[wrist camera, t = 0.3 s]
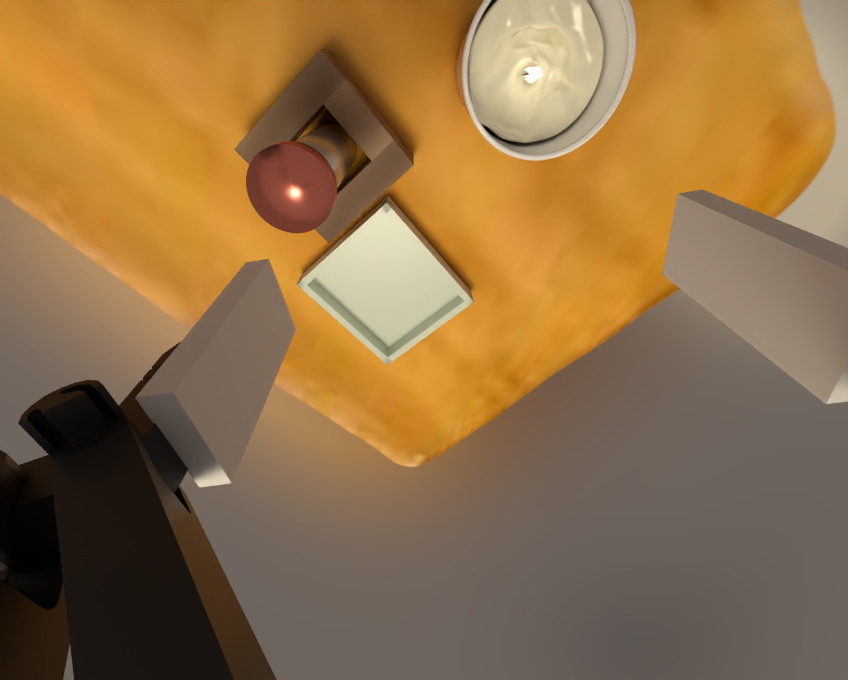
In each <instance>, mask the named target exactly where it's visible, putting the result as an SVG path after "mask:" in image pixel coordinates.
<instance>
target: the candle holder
mask: <svg viewBox="0 0 848 680" xmlns="http://www.w3.org/2000/svg"><path fill="white" fill-rule="evenodd" d="M635 51H636V27H635V19H634V14H633V10H632V7H631V3H630V1H629V0H483V2H482V3H481V5H480V7H479V9H478V10H477V12H476V14H475V16H474V19H473V21H472V23H471V25H470V27H469V29H468V31H467V33H466V34H465V36H464V39H463V41H462V43H461V46H460V49H459V52H458V56H457V62H456V84H457V89H458V93H459V96H460V98H461V101H462V103H463V105H464V107H465V108H466V110H467V112H468V113H469V115H470V117H471V119H472V121H473V123H474V124H475V126H476V128H477V129H478V131H479V132H480V133H481V135H482V136H483V137H484V138H485V139H486V140H487V141H488V142H489V143H490V144H491V145H492V146H494V147H495V148H496V149H498V150H499V151H501V152H503V153H505V154H507V155H509V156H512V157H515V158H519V159H524V160H546V159H551V158H555V157H559V156H561V155H564V154H566V153H569V152H571V151H573V150H574V149H576V148H578V147H580V146H581V145H583V144H584V143H585V142H587V141H588V140H589V139H590V138H592V137H593V136H594V135H595V134H596V133H597V132H598V131H599V130H600V129H601V128H602V127H603V126H604V125H605V123H606V122H607V121H608V120H609V118H610V117H611V115H612V114H613V113H614V111H615V109H616V108H617V106H618V104H619V103H620V101H621V99H622V97H623V95H624V93H625V90H626V88H627V85H628V82H629V79H630V76H631V73H632V69H633V64H634V59H635Z"/></svg>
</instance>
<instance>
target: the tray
mask: <svg viewBox="0 0 848 680" xmlns="http://www.w3.org/2000/svg"><path fill="white" fill-rule="evenodd" d="M297 285H298V286H299V287H300V288H301V289H302V290H304V291H305V292H306V293H307V294H308V295H309V296H310V297H311V298H313V299H314V300H315V301H316V302H317V303H318V304H319V305H320V306H322V307H323V308H324V309H325V310H326V311H327V312H328V313H329V314H331V315H332V316H333V317H334V318H335V319H336V320H337V321H338V322H340V323H341V324H342V325H343V326H344V327H345V328H346V329H347V330H349V331H350V332H351V333H352V334H353V335H354V336H355V337H356V338H358V339H359V340H360V341H361V342H362V343H363V344H364V345H365V346H367V347H368V348H369V349H370V350H371V351H372V352H373V353H375V354H376V355H377V356H378V357H379V358H380V359H381V360H382V361H384V362H385V363H386V364H387V365H388V364H389V363H391V362H392V361H393V360H395V359H396V358H397V357H399V356H400V355H402V354H403V353H404V352H406V351H407V350H408V349H410V348H411V347H413V346H414V345H415V344H417V343H418V342H419V341H421V340H422V339H424V338H425V337H426V336H428V335H429V334H430V333H432V332H433V331H435V330H436V329H437V328H439V327H440V326H441V325H443V324H444V323H446V322H447V321H448V320H450V319H451V318H452V317H454V316H455V315H457V314H458V313H459V312H461V311H462V310H463V309H465V308H466V307H468V306H469V305H470V304H472V303H473V302H474V300H473V297H472V294H471V290H470V289H469V288H468V287H467V286H466V285H465V284H464V282H463V281H462V280H461V279H460V278H459V277H458V276H457V274H456V273H455V272H454V271H453V270H452V269H451V267H450V266H449V265H448V264H447V263H446V262H445V261H444V259H443V258H442V257H441V256H440V255H439V254H438V253H437V251H436V250H435V249H434V248H433V247H432V246H431V244H430V243H429V242H428V241H427V240H426V239H425V238H424V236H423V235H422V234H421V233H420V232H419V231H418V230H417V228H416V227H415V226H414V225H413V224H412V223H411V221H410V220H409V219H408V218H407V217H406V216H405V215H404V213H403V212H402V211H401V210H400V209H399V208H398V207H397V205H396V204H395V203H394V202H393V201H392V200H391V198H390V197H389V196H387V197H386V198H385V199H384V200H382V201H381V202H380V203H379V204H378V205H377V206H376V207H375V208H374V209H373V210H372V211H370V212H369V213H368V214H367V215H366V216H365V217H364V218H363V219H362V220H361V221H359V222H358V223H357V224H356V225H355V226H354V227H353V228H352V229H351V230H350V231H349V232H347V233H346V234H345V235H344V236H343V237H342V238H341V239H340V240H339V241H338V242H336V243H335V244H334V245H333V246H332V247H331V248H330V249H329V250H328V251H327V252H325V253H324V254H323V255H322V256H321V257H320V258H319V259H318V260H317V261H316V262H315V263H313V264H312V265H311V266H310V267H309V268H308V269H307V270H306V271H305V272H304V273H302V275H301V277H300V279H299V281H298V283H297Z"/></svg>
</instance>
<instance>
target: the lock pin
mask: <svg viewBox="0 0 848 680" xmlns="http://www.w3.org/2000/svg"><path fill="white" fill-rule="evenodd" d="M355 157H356V147H355V143H354V140H353V139H352V138H351V136H350V135H349V134H348V133H347V132H346V131H345V129H344V128H342V127H340V126H338V125H334V124H326V125H323V126H321V127H319V128H317V129H316V130H314V131H312V132H310V133H309V134H307V135H305V136H303V137H302V138H300V139H298V140H296V141H281V142H278V143H275V144H273V145H271V146H269V147H267V148H265V149H263V150H262V151H260V152H259V153H258V154H257V155H256V156H255V157H254V158H253V160H252V161H251V163H250V165H249V168H248V171H247V176H246V187H247V192H248V196H249V199H250V201H251V203H252V205H253V207H254V208H255V210H256V211H257V213H258V214H259V215H260V216H261V217H262V218H263V219H264V220H265V221H266V222H267V223H269V224H270V225H272V226H273V227H275V228H277V229H280V230H282V231H286V232H290V233H304V232H308V231H311V230H313V229H315V228H317V227H319V226H320V225H321V224H322V223H323V222H324V221H325V220H326V219H327V217H328V216H329V214H330V212H331V211H332V209H333V207H334V205H335V202H336V199H337V189H338V186H339V185H340V183H341V182H342V180H343V179H344V177H345V175H346V174H347V172H348V171H349V169H350V168H351V166H352V164H353V163H354V160H355Z"/></svg>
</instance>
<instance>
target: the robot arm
mask: <svg viewBox="0 0 848 680" xmlns="http://www.w3.org/2000/svg"><path fill="white" fill-rule="evenodd" d="M663 275H664V276H665V277H666V278H668V279H669V280H670V281H671V282H673V283H674V284H675V285H676V286H678V287H679V288H680V289H681V290H683V291H684V292H685V293H687V294H688V295H689V296H690V297H692V298H693V299H694V300H695V301H697V302H698V303H699V304H700V305H702V306H703V307H704V308H705V309H707V310H708V311H709V312H710V313H712V314H713V315H714V316H716V317H717V318H718V319H719V320H721V321H722V322H723V323H724V324H726V325H727V326H728V327H730V328H731V329H732V330H733V331H734V332H736V333H737V334H738V335H740V336H741V337H742V338H743V339H745V340H746V341H747V342H749V343H750V344H751V345H752V346H753V347H755V348H756V349H757V350H758V351H760V352H761V353H762V354H764V355H765V356H766V357H767V358H768V359H770V360H771V361H772V362H774V363H775V364H776V365H777V366H779V367H780V368H781V369H782V370H784V371H785V372H786V373H787V374H789V375H790V376H791V377H793V378H794V379H795V380H796V381H798V382H799V383H800V384H801V385H803V386H804V387H805V388H807V389H808V390H809V391H810V392H811V393H813V394H814V395H815V396H816V397H818V398H819V399H820V400H821V401H823V402H824V403H825V404H830V403H837V402H845V401H848V248H846V247H844V246H841V245H839V244H836V243H834V242H831V241H829V240H826V239H824V238H821V237H819V236H816V235H814V234H811V233H809V232H807V231H804V230H801V229H799V228H796V227H794V226H792V225H789V224H786V223H784V222H782V221H779V220H777V219H774V218H772V217H769V216H767V215H764V214H762V213H759V212H757V211H754V210H752V209H749V208H747V207H744V206H742V205H739V204H737V203H734V202H732V201H729V200H727V199H725V198H722V197H720V196H717V195H715V194H712V193H710V192H707V191H705V190H698V191H692V192H686V193H679V194H677V200H676V205H675V210H674V216H673V221H672V226H671V231H670V237H669V242H668V247H667V253H666V258H665V263H664V268H663ZM295 330H296V329H295V326H294V324H293V321H292V318H291V316H290V313H289V311H288V308H287V305H286V303H285V300H284V297H283V295H282V292H281V290H280V287H279V284H278V282H277V279H276V277H275V274H274V271H273V269H272V266H271V263H270V261H269V259H265V260H259V261H253V262H247V263H245V265H244V266H243V267H242V268H241V269H240V271H239V272H238V273H237V274H236V276H235V277H234V278H233V279H232V280H231V282H230V283H229V284H228V285H227V286H226V288H225V289H224V290H223V291H222V293H221V294H220V295H219V296H218V297H217V299H216V300H215V301H214V302H213V304H212V305H211V306H210V307H209V308H208V310H207V311H206V312H205V313H204V315H203V316H202V317H201V318H200V319H199V321H198V322H197V323H196V324H195V325H194V327H193V328H192V329H191V330H190V332H189V333H188V334H187V335H186V337H185V338H184V339H183V340H182V341H181V342H179V343H178V344H176V345H175V346H174V347H172V348H171V349H169V350H168V351H167V352H165V353H164V354H163V355H162V356H161V357H160V358H159V359H158V361H157V362H156V363H155V364H154V365H153V366H152V370H149V371H148V372H147V373H146V375H145V376H144V377H143V380H141V381H140V382H139V383H138V384H137V385H136V386H135V388H134V389H133V390H132V391H131V392H130V394H129V395H128V396H127V397H126V398H125V399H124V401H123V402H122V403H121V404H120V405H117V403H116V402H115V400H114V399H113V398H112V396H111V395H110V394H109V392H108V391H107V390H106V389H105V387H104V386H103V385H102V384H101V383H100V382H99V381H95V380H86V381H82V382H77V383H73V384H70V385H68V386H65V387H62V388H60V389H58V390H56V391H54V392H52V393H50V394H48V395H46V396H44V397H43V398H41V399H40V400H39V401H37V402H36V403H34V404H33V405H31V406H30V407H29V408H28V409H27V411H25V412H24V413H23V415H22V416H21V418H20V421H19V424H20V426H21V427H22V428H23V429H24V430H25V431H26V432H27V433H28V434H29V435H30V436H31V437H32V438H33V439H34V440H35V441H36V442H37V443H38V444H39V445H40V446H41V447H42V448H43V449H44V450H45V451H46V452H47V453H48V454H49V455H47V456H44V457H41V458H38V459H35V460H32V461H29V462H27V463H23V464H21V465H18V464H17V463H16V462H15V461H14V460H13V459H12V458H11V457H10V456H8V455H7V454H6V453H5V452H3V451H2V450H0V680H63V677H64V671H65V666H66V661H67V655H68V650H69V644H70V646H71V656H72V664H73V673H74V680H276V678H275V676H274V673H273V672H272V670H271V667H270V665H269V663H268V662H267V659H266V657H265V655H264V653H263V651H262V649H261V647H260V645H259V643H258V641H257V639H256V637H255V634H254V633H253V630H252V628H251V626H250V624H249V622H248V620H247V618H246V616H245V614H244V612H243V610H242V608H241V606H240V604H239V602H238V600H237V598H236V596H235V593H234V592H233V589H232V587H231V585H230V583H229V581H228V579H227V577H226V575H225V573H224V571H223V569H222V567H221V565H220V563H219V561H218V559H217V557H216V555H215V552H214V551H213V548H212V546H211V544H210V542H209V540H208V538H207V536H206V534H205V532H204V530H203V528H202V526H201V524H200V522H199V520H198V518H197V516H196V514H195V511H194V509H193V507H192V506H191V503H190V501H189V499H188V497H187V495H186V494H185V492H184V491H183V490H182V488H181V487H180V486H179V485H180V483H181V481H182V479H183V478H184V476H185V474H186V472H187V471H188V472H189V473H190V475H191V476H192V478H193V479H194V481H195V482H196V483H197V485H198V486H199V487H206V486H213V485H220V484H228V483H232V481H233V478H234V476H235V474H236V471H237V469H238V466H239V464H240V462H241V459H242V457H243V455H244V452H245V450H246V447H247V445H248V443H249V440H250V438H251V435H252V433H253V431H254V428H255V426H256V423H257V421H258V419H259V416H260V414H261V411H262V409H263V406H264V404H265V402H266V399H267V397H268V395H269V392H270V390H271V387H272V385H273V383H274V380H275V378H276V376H277V373H278V371H279V368H280V366H281V364H282V361H283V359H284V356H285V354H286V352H287V349H288V347H289V344H290V342H291V340H292V337H293V335H294V332H295Z"/></svg>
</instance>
